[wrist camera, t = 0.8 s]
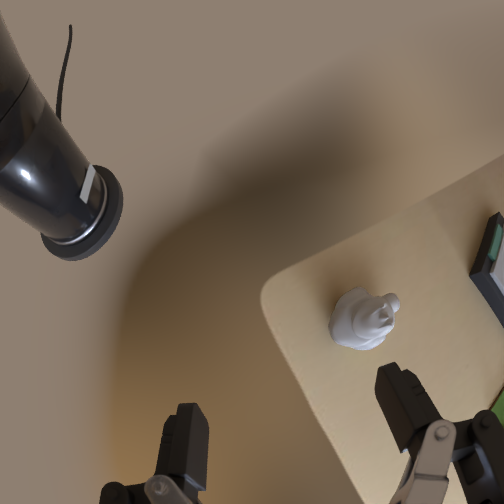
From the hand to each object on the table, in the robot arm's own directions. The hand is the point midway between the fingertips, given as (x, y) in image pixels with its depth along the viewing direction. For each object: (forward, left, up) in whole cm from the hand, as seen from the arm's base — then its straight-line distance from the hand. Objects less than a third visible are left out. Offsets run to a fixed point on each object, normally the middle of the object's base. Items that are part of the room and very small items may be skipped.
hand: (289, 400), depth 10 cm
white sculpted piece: (+3, +9, -13) cm, 16 cm away
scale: (+18, +29, -12) cm, 37 cm away
